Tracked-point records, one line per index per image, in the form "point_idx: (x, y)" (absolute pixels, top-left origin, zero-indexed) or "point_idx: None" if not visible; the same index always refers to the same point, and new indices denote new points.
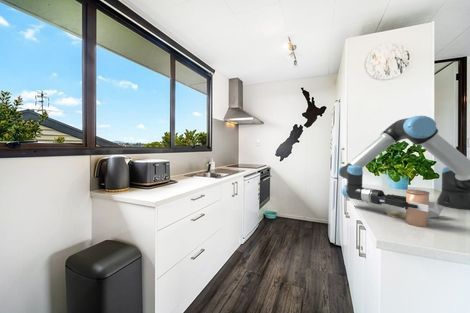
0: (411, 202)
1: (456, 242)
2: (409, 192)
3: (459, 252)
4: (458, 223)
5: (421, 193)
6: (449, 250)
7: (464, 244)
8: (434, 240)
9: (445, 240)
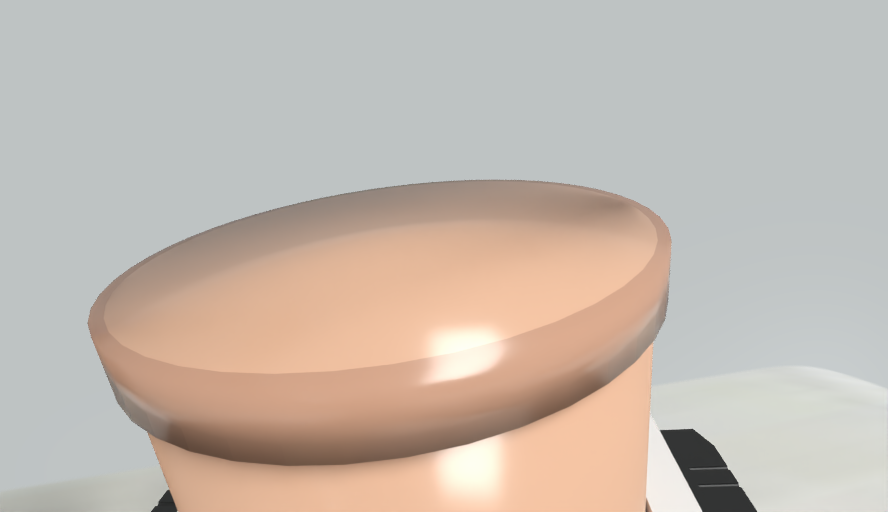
0: (685, 488)
1: (671, 410)
2: (666, 284)
3: (824, 373)
4: (141, 496)
5: (571, 190)
6: (872, 396)
7: (653, 388)
8: (827, 476)
9: (718, 444)
